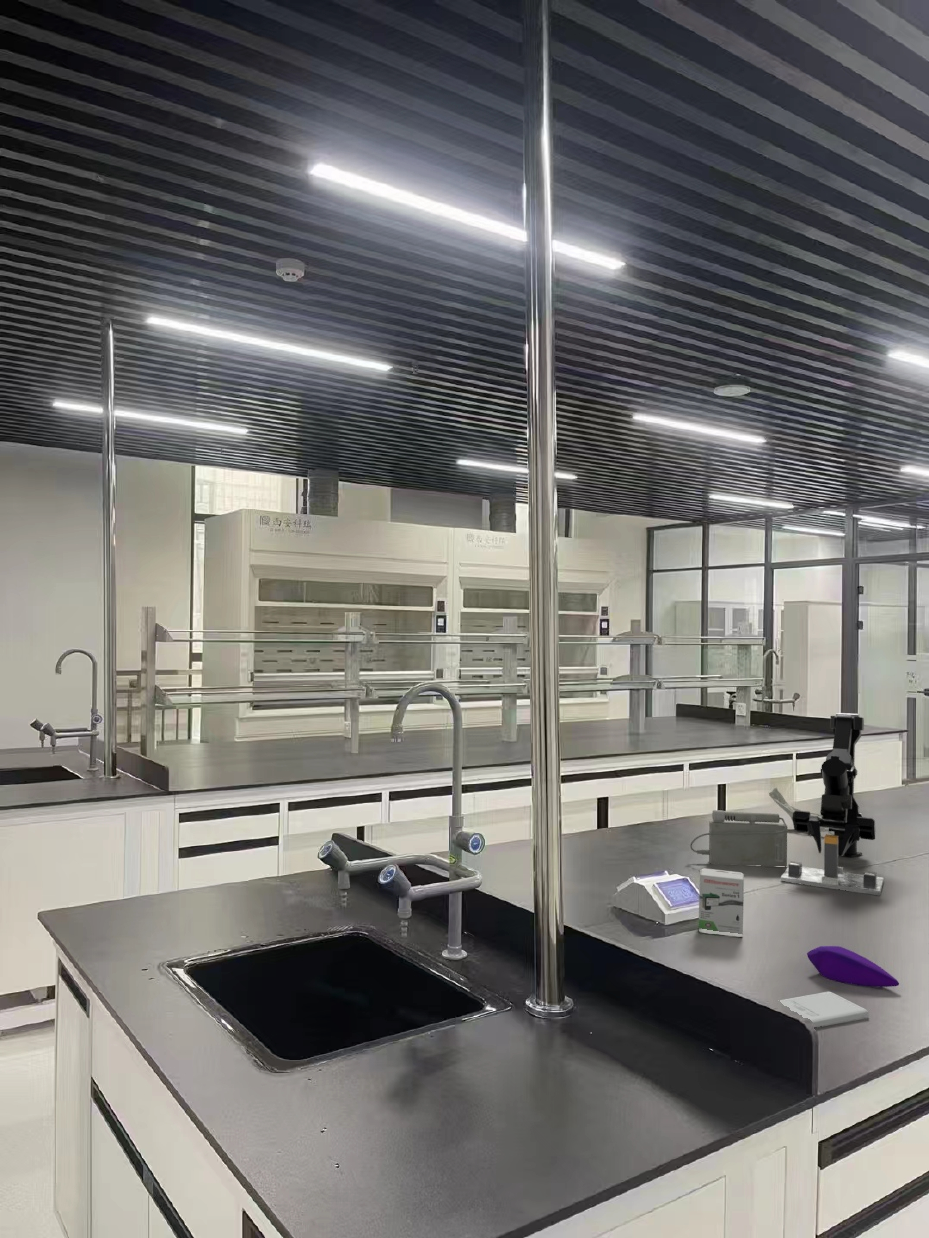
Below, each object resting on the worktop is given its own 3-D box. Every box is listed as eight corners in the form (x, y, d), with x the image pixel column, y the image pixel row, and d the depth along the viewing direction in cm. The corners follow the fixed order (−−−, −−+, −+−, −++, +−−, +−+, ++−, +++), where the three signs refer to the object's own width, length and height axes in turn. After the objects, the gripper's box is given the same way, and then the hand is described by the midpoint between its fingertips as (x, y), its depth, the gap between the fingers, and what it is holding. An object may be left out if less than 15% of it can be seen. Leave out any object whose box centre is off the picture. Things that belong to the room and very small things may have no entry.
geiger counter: (784, 811, 228) (688, 807, 231) (790, 815, 222) (692, 811, 225) (783, 863, 228) (688, 859, 230) (790, 869, 221) (692, 865, 224)
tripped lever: (825, 875, 211) (826, 834, 211) (838, 877, 209) (838, 835, 210) (824, 878, 208) (824, 836, 208) (836, 880, 207) (836, 838, 207)
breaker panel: (789, 868, 222) (789, 854, 222) (883, 881, 212) (883, 866, 212) (780, 881, 210) (780, 866, 210) (879, 895, 199) (880, 879, 199)
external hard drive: (868, 1020, 132) (805, 1032, 128) (828, 1000, 140) (767, 1010, 135) (868, 1010, 132) (805, 1021, 128) (828, 990, 140) (767, 999, 136)
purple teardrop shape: (897, 973, 141) (804, 943, 150) (894, 1002, 141) (801, 970, 150) (903, 965, 145) (812, 936, 154) (900, 993, 145) (809, 963, 154)
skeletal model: (842, 840, 257) (779, 777, 268) (820, 860, 261) (759, 797, 272) (853, 831, 270) (793, 771, 281) (832, 849, 274) (773, 789, 285)
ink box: (697, 933, 170) (698, 873, 171) (698, 925, 175) (699, 867, 175) (743, 938, 168) (744, 877, 168) (743, 930, 172) (743, 871, 173)
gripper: (793, 778, 217) (786, 829, 207) (874, 785, 208) (871, 839, 198) (798, 804, 224) (791, 855, 214) (876, 812, 215) (873, 866, 205)
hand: (830, 853), depth 208 cm, fingers open, 5 cm apart
